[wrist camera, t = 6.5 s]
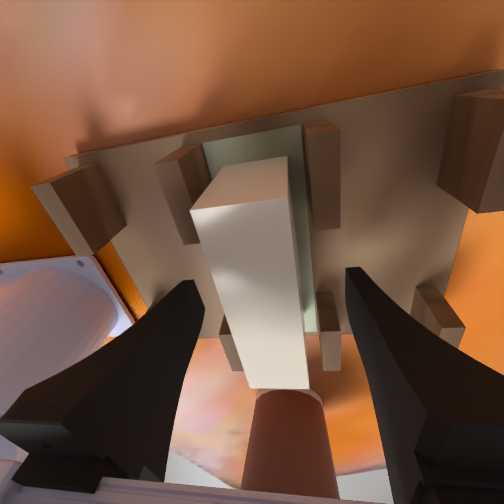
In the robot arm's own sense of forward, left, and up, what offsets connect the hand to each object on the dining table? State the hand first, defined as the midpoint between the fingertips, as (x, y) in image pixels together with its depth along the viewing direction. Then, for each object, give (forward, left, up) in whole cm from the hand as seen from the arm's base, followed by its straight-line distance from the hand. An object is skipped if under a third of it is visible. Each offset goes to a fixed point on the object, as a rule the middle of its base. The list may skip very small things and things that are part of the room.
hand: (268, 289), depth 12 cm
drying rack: (0, 0, -4) cm, 4 cm away
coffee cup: (-1, -18, -4) cm, 18 cm away
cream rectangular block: (0, 0, -3) cm, 3 cm away
